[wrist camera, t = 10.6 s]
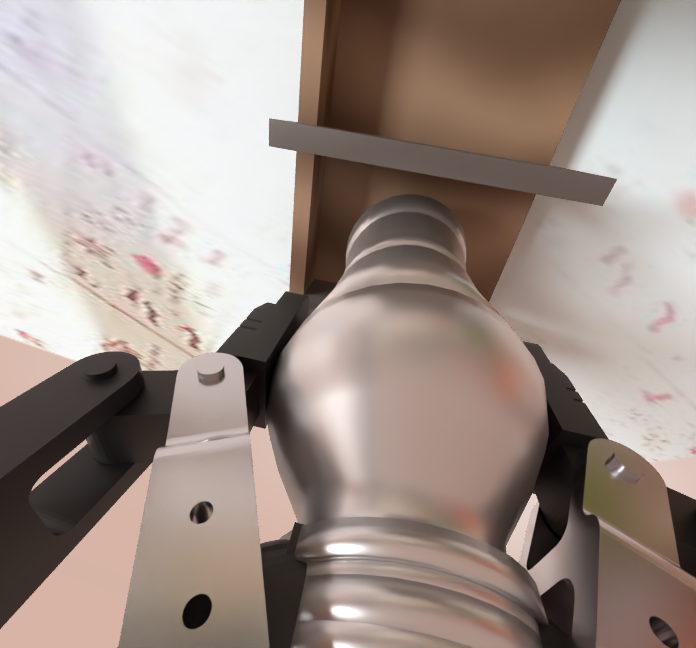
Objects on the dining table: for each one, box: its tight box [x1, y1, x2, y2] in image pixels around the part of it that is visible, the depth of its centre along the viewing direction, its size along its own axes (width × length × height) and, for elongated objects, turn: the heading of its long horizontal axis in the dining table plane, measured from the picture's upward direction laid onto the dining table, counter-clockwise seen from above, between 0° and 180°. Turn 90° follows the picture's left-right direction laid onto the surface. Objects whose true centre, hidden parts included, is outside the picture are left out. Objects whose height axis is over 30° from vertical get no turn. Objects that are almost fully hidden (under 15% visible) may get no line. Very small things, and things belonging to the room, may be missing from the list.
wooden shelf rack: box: [269, 0, 621, 317], centre depth 16 cm, size 21×14×8 cm, turn 172°
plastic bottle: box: [267, 194, 549, 648], centre depth 12 cm, size 6×7×20 cm
